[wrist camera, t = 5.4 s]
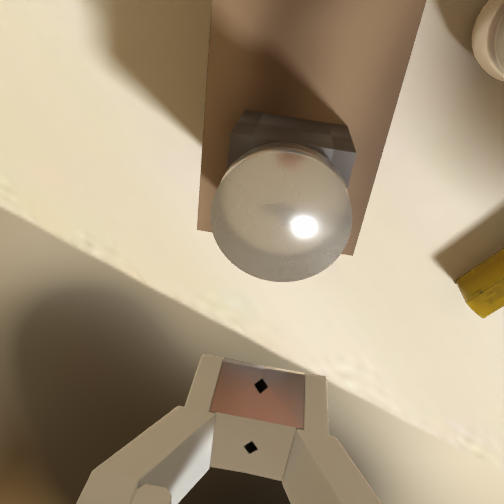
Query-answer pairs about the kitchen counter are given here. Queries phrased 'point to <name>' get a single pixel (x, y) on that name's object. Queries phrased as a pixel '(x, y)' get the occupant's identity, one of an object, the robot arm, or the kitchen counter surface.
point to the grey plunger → (282, 212)
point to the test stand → (305, 86)
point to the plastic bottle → (490, 38)
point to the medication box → (484, 285)
